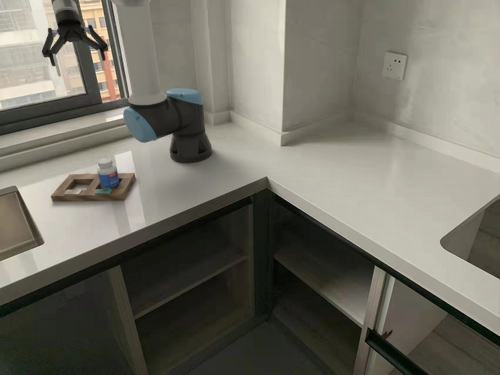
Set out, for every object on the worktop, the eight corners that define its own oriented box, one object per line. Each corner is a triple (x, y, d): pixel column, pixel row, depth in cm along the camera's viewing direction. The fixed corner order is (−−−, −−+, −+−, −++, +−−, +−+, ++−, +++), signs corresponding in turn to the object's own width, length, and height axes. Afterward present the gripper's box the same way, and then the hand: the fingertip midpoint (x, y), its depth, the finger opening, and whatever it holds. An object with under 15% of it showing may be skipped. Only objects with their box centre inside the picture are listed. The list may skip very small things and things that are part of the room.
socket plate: (135, 178, 118) (134, 172, 117) (123, 200, 107) (122, 193, 106) (71, 179, 119) (69, 173, 118) (52, 201, 108) (50, 195, 106)
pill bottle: (115, 194, 110) (107, 165, 105) (98, 192, 111) (91, 164, 106) (124, 185, 115) (117, 157, 110) (108, 183, 116) (101, 155, 111)
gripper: (106, 21, 132) (121, 72, 128) (29, 27, 123) (42, 82, 119) (105, 5, 125) (120, 59, 121) (22, 11, 116) (36, 69, 112)
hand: (81, 71), depth 120 cm, fingers open, 13 cm apart
